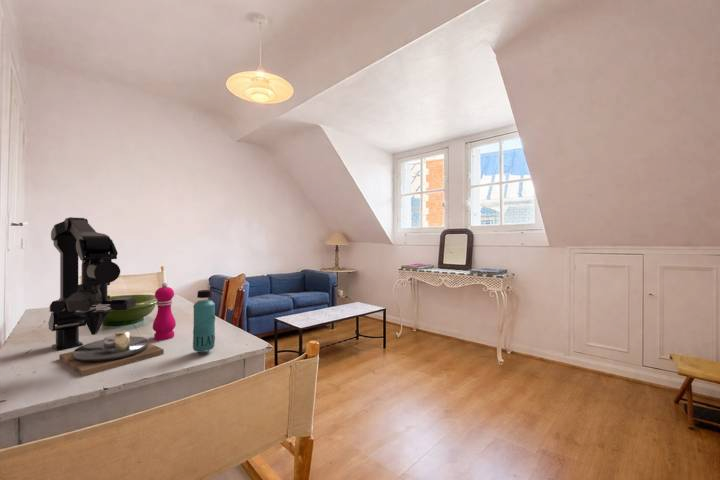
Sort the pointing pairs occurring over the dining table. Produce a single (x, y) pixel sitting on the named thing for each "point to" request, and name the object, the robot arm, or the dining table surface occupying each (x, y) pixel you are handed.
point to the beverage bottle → (204, 322)
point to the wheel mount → (95, 367)
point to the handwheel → (111, 348)
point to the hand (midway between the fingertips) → (94, 334)
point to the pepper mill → (164, 314)
